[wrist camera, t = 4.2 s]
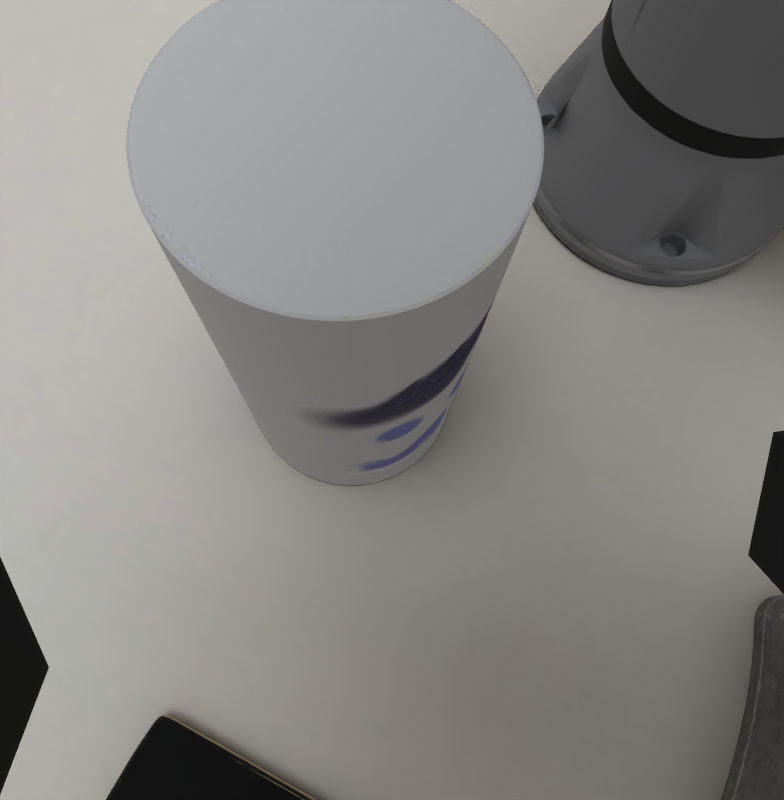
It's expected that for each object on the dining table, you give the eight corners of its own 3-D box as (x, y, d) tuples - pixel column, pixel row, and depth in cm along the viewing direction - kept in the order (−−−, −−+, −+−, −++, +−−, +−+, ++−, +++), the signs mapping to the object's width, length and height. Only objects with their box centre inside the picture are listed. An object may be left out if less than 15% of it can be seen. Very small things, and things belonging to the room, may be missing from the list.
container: (384, 524, 33) (411, 400, 14) (214, 419, 35) (32, 178, 16) (483, 360, 36) (615, 74, 17) (323, 269, 37) (280, -93, 18)
